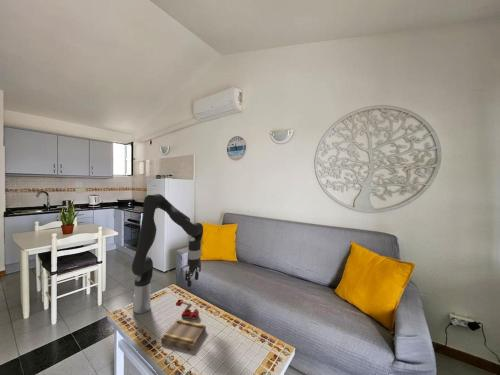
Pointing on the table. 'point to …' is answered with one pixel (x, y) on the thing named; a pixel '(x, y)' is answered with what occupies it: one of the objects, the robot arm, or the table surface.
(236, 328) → the table surface
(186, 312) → the toy fire truck
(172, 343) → the platform
